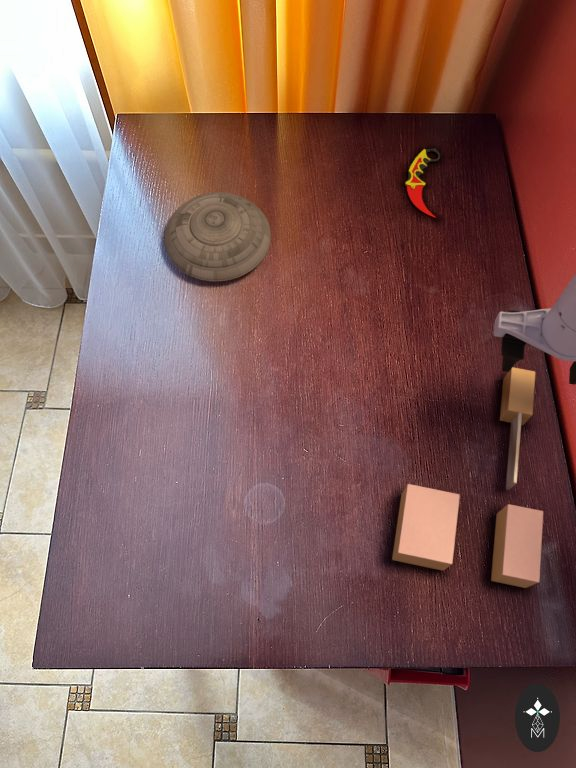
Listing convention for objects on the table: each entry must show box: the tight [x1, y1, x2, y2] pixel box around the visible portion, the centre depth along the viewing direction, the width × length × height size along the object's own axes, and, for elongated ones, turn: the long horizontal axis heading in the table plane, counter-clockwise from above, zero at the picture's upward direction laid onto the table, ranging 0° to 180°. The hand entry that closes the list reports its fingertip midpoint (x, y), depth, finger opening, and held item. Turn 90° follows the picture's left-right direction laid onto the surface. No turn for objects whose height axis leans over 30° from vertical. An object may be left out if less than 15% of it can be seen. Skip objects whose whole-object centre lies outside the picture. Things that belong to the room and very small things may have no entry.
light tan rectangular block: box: [490, 503, 544, 589], centre depth 78 cm, size 4×8×4 cm, turn 168°
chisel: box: [499, 366, 536, 491], centre depth 84 cm, size 15×3×4 cm, turn 168°
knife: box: [404, 147, 441, 219], centre depth 102 cm, size 13×1×5 cm
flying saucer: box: [163, 191, 272, 282], centre depth 95 cm, size 15×15×6 cm
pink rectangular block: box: [391, 483, 461, 572], centre depth 79 cm, size 6×8×4 cm
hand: (538, 370), depth 79 cm, fingers open, 7 cm apart
